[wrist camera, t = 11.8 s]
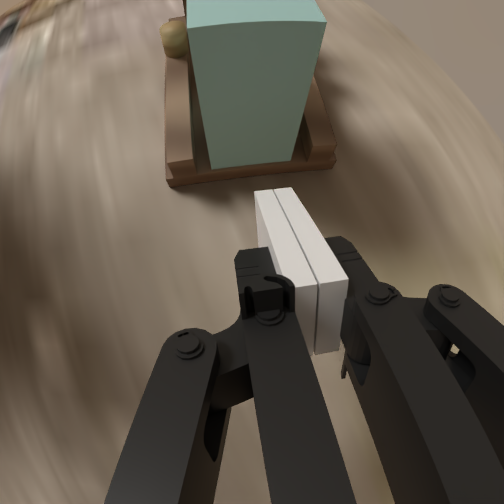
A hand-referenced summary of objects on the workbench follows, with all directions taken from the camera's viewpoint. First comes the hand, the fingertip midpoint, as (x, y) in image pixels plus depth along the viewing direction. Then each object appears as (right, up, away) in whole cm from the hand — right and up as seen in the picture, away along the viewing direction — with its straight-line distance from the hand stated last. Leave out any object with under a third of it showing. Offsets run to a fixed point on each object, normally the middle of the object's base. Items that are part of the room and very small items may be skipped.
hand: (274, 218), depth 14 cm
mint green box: (-1, +7, +7) cm, 10 cm away
